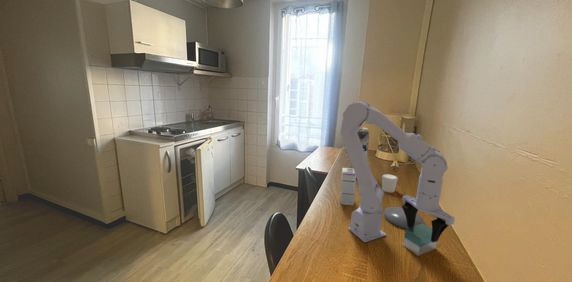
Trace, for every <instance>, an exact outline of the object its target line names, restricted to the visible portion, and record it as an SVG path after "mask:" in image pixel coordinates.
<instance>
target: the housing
mask: <svg viewBox="0 0 572 282" xmlns="http://www.w3.org/2000/svg"><path fill="white" fill-rule="evenodd" d="M431 236H432V227H430V226H428V225H427V224H426V223H424V222H423V223H422V224H419V225H416V226H413V227H410V228H407V229H405V230H404V238H403V247H404V248H406V249H408V250H409V251H411V252H412V253H414V254H415V255H416V256H422V255H423V254H426V253H429V252H431V251H434V250H435V249H436V248H437V242H438V241H436V242H432V241H431Z"/></svg>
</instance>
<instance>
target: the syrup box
mask: <svg viewBox="0 0 572 282" xmlns="http://www.w3.org/2000/svg"><path fill="white" fill-rule="evenodd" d="M356 184H357V177H356V175H355V172H354V169H353V168H350V167H342V168H341V177H340V194H339V201H340V205H346V206H355V197H356Z"/></svg>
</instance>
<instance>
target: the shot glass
mask: <svg viewBox="0 0 572 282" xmlns="http://www.w3.org/2000/svg"><path fill="white" fill-rule="evenodd" d="M381 179H382V180H381V188H382V189H383V191H384V192H385V193H395V191H396V187H397V184H398V176H396V175H393V174H390V173H389V174H388V173H385V174H384V173H383V174H382V177H381Z"/></svg>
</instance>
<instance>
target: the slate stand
mask: <svg viewBox="0 0 572 282" xmlns="http://www.w3.org/2000/svg"><path fill="white" fill-rule="evenodd" d="M383 212H384V213H383V217H384V218H385V219H386V220H387V222H389V224H392V225H394V226H396V227H398V228H402V229H405V230H406V229H407V228H409V227H408V226H407V220H406V216H405V213H404V210H403V209H402V206H389V207H387V208H385V210H384V211H383ZM424 221H425V220H424V218H423V216H422V215H421V214H419V213H418V212H417V214H416V218H415V224H414V226H416V225H419V224H422V223H423V224H424Z"/></svg>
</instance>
